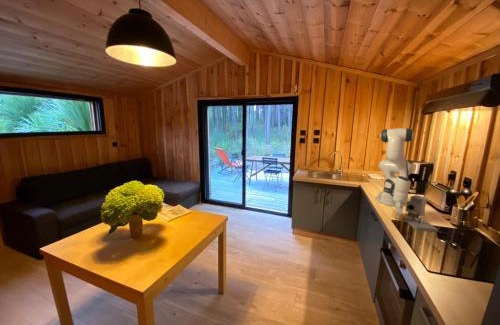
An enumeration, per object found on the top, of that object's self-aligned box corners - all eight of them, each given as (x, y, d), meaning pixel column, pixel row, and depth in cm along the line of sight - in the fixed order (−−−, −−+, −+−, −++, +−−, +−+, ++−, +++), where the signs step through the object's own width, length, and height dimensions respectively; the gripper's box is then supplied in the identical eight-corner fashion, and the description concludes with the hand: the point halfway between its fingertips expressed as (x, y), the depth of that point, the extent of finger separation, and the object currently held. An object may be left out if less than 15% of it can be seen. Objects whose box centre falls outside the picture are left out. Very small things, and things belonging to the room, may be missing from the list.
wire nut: (391, 216, 168) (393, 208, 167) (398, 217, 167) (400, 209, 166) (395, 219, 163) (396, 211, 162) (402, 220, 162) (403, 212, 161)
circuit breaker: (403, 215, 171) (406, 197, 168) (413, 212, 177) (416, 195, 175) (414, 219, 164) (417, 200, 162) (423, 216, 171) (427, 198, 168)
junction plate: (403, 219, 163) (404, 210, 161) (422, 221, 161) (424, 212, 160) (416, 229, 147) (418, 220, 146) (437, 232, 145) (439, 222, 144)
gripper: (406, 203, 152) (403, 221, 154) (404, 195, 169) (401, 212, 172) (395, 201, 155) (392, 219, 158) (394, 194, 172) (391, 210, 175)
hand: (397, 215), depth 165 cm, fingers closed on wire nut, 6 cm apart
